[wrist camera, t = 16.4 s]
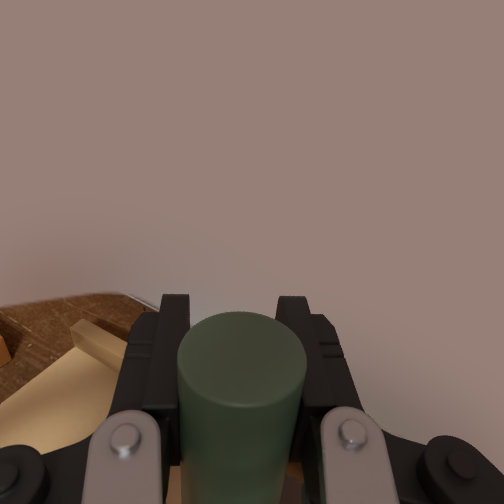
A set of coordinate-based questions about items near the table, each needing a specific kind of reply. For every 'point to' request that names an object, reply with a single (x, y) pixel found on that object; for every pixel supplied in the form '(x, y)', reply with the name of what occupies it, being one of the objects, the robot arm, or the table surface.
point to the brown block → (4, 353)
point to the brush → (239, 409)
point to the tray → (76, 400)
